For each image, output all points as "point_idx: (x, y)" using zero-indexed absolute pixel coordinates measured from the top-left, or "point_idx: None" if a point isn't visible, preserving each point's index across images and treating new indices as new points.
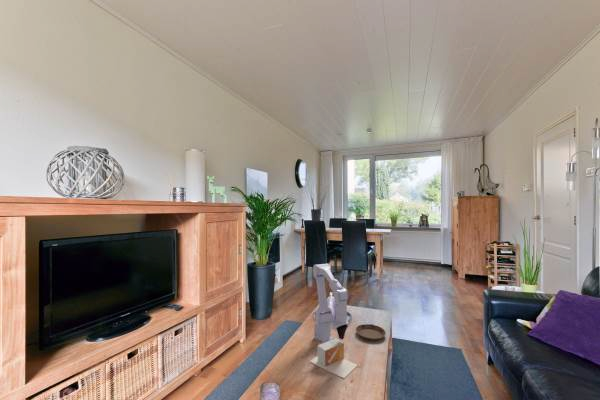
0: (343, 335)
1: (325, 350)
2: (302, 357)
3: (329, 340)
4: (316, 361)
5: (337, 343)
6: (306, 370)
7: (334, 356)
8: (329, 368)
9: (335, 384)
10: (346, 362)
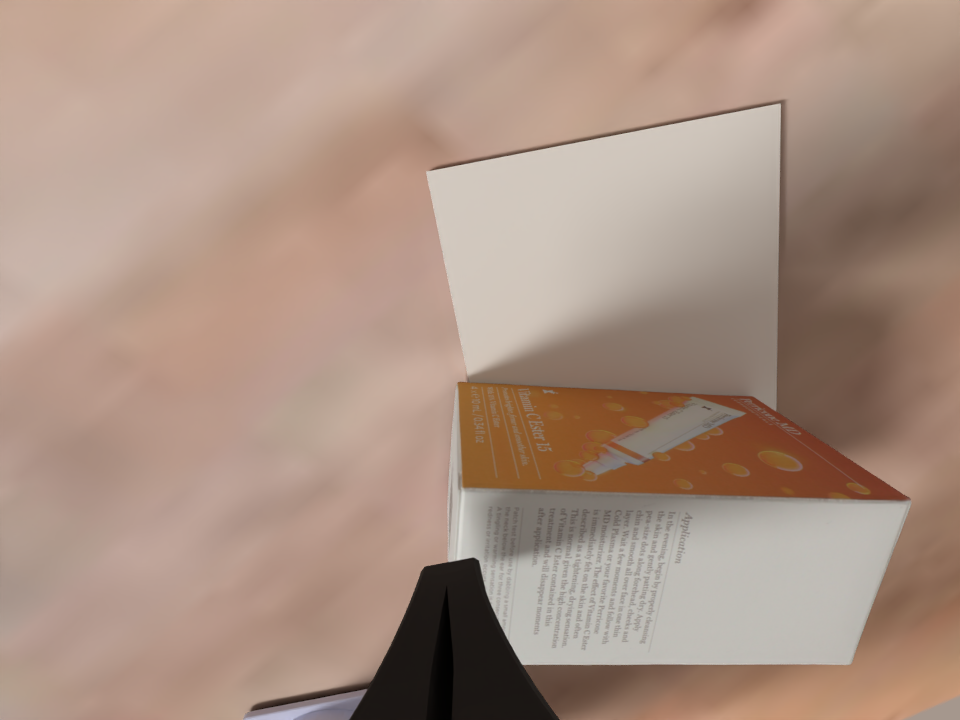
0: (456, 615)
1: (902, 505)
2: None
3: (326, 701)
4: None
5: (575, 540)
6: (900, 470)
7: (642, 419)
8: (740, 348)
9: (922, 103)
10: (500, 304)
